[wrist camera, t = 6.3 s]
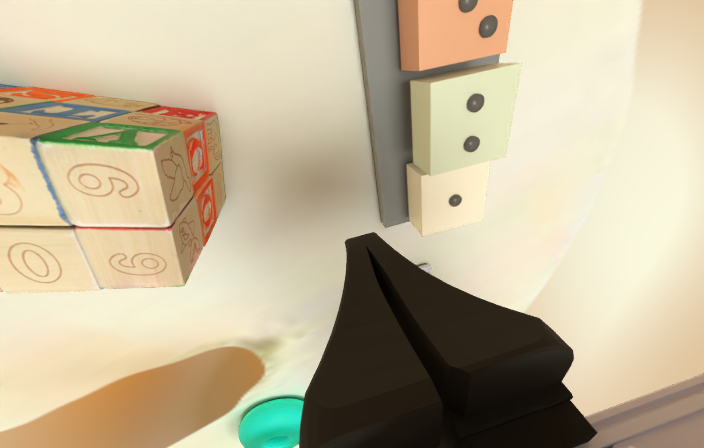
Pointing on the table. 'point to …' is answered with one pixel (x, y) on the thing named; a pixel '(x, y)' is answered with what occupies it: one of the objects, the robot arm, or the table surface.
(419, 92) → the tile two
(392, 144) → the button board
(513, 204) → the table surface
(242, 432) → the donuts
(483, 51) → the tile three
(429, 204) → the tile one
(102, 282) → the stack of blocks
